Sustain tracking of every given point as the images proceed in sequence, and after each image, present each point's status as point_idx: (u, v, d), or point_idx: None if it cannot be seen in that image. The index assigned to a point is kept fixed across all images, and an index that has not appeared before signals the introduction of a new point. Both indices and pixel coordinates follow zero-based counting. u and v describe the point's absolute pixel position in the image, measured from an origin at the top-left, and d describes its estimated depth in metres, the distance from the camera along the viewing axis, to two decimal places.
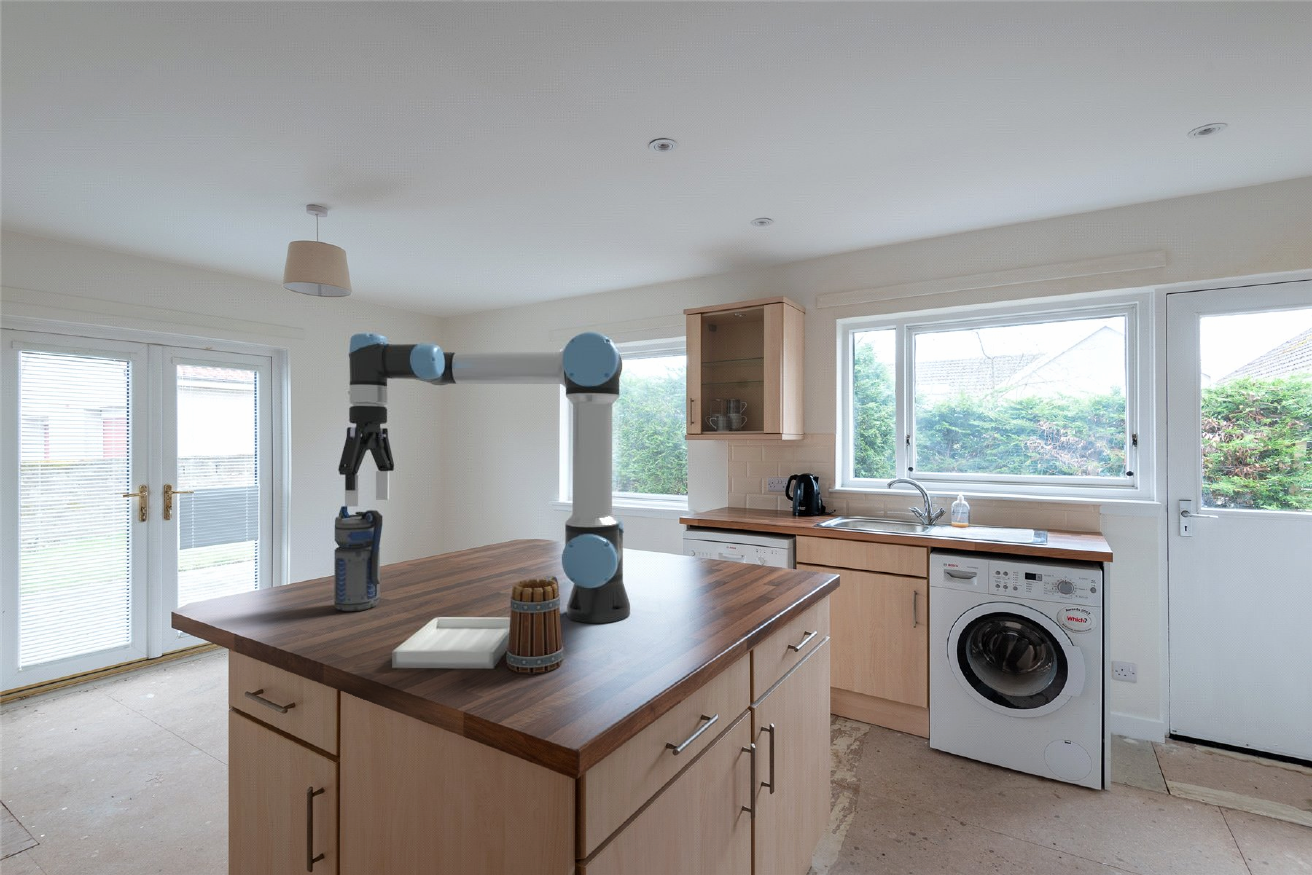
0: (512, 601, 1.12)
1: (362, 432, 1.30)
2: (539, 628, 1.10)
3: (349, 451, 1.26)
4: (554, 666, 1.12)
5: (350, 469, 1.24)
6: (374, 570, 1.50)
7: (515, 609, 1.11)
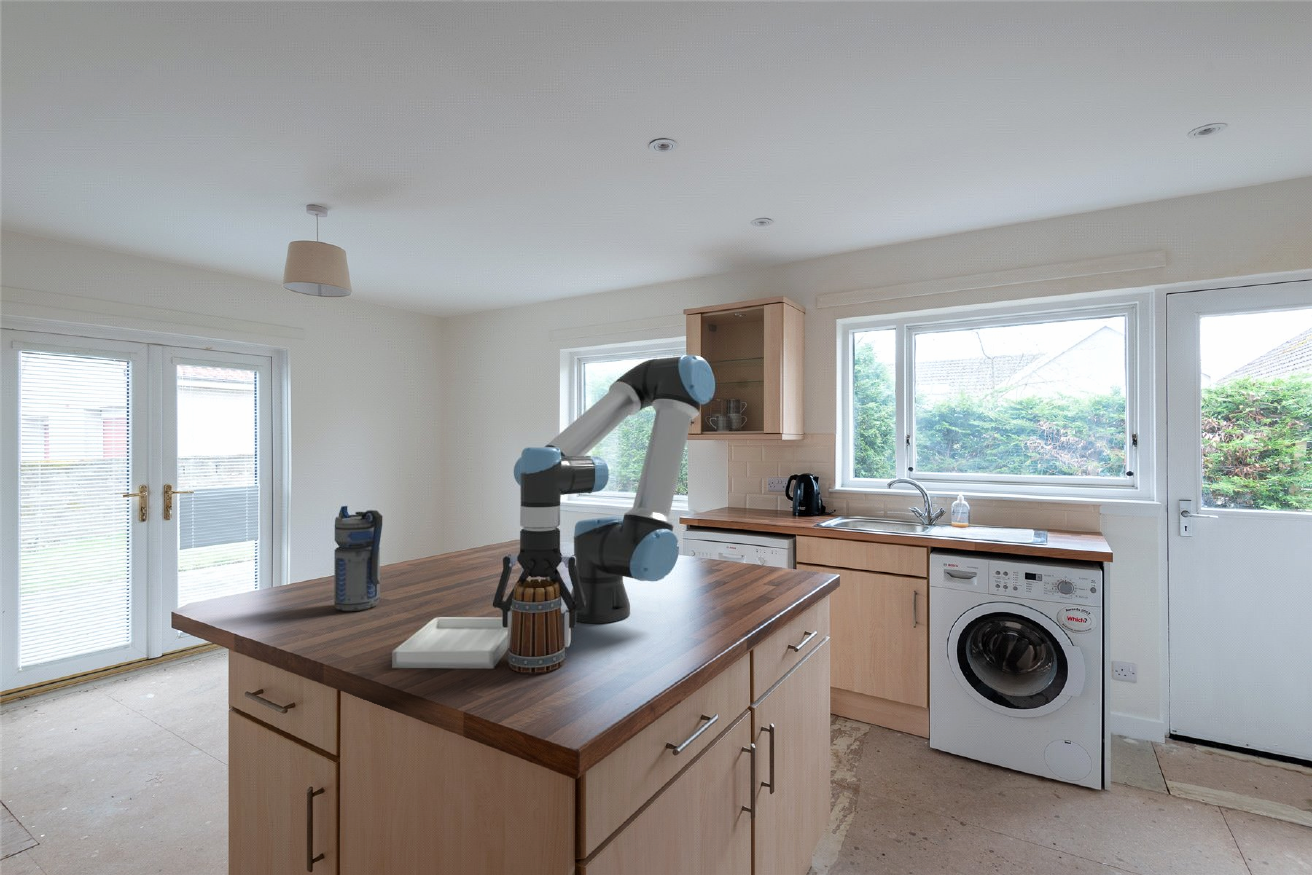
0: (514, 601, 1.12)
1: (517, 560, 1.16)
2: (540, 628, 1.10)
3: None
4: (556, 666, 1.12)
5: (493, 605, 1.16)
6: (374, 570, 1.50)
7: (517, 609, 1.11)
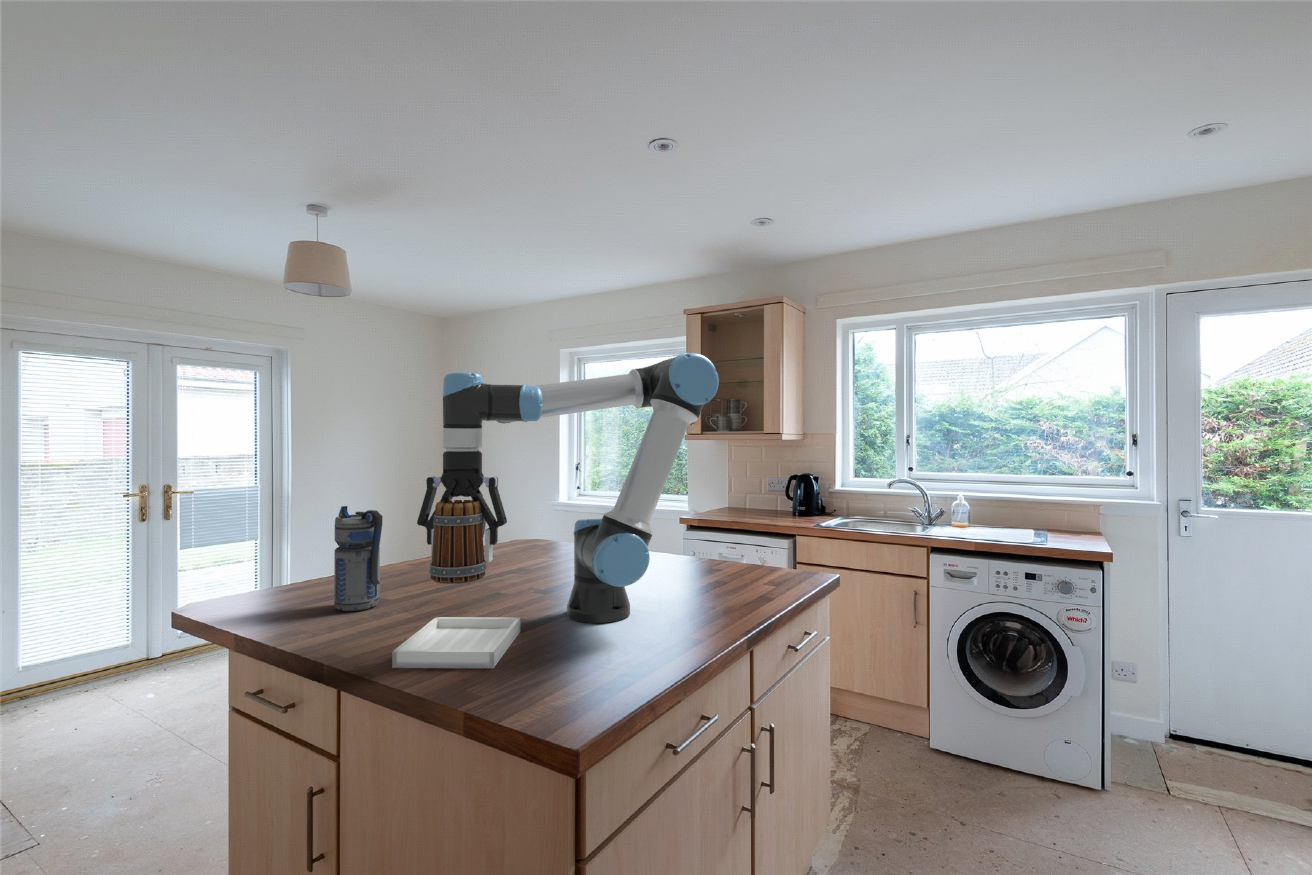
0: (434, 517, 1.18)
1: (440, 480, 1.23)
2: (459, 541, 1.16)
3: None
4: (474, 578, 1.18)
5: (418, 523, 1.22)
6: (374, 570, 1.50)
7: (437, 523, 1.17)
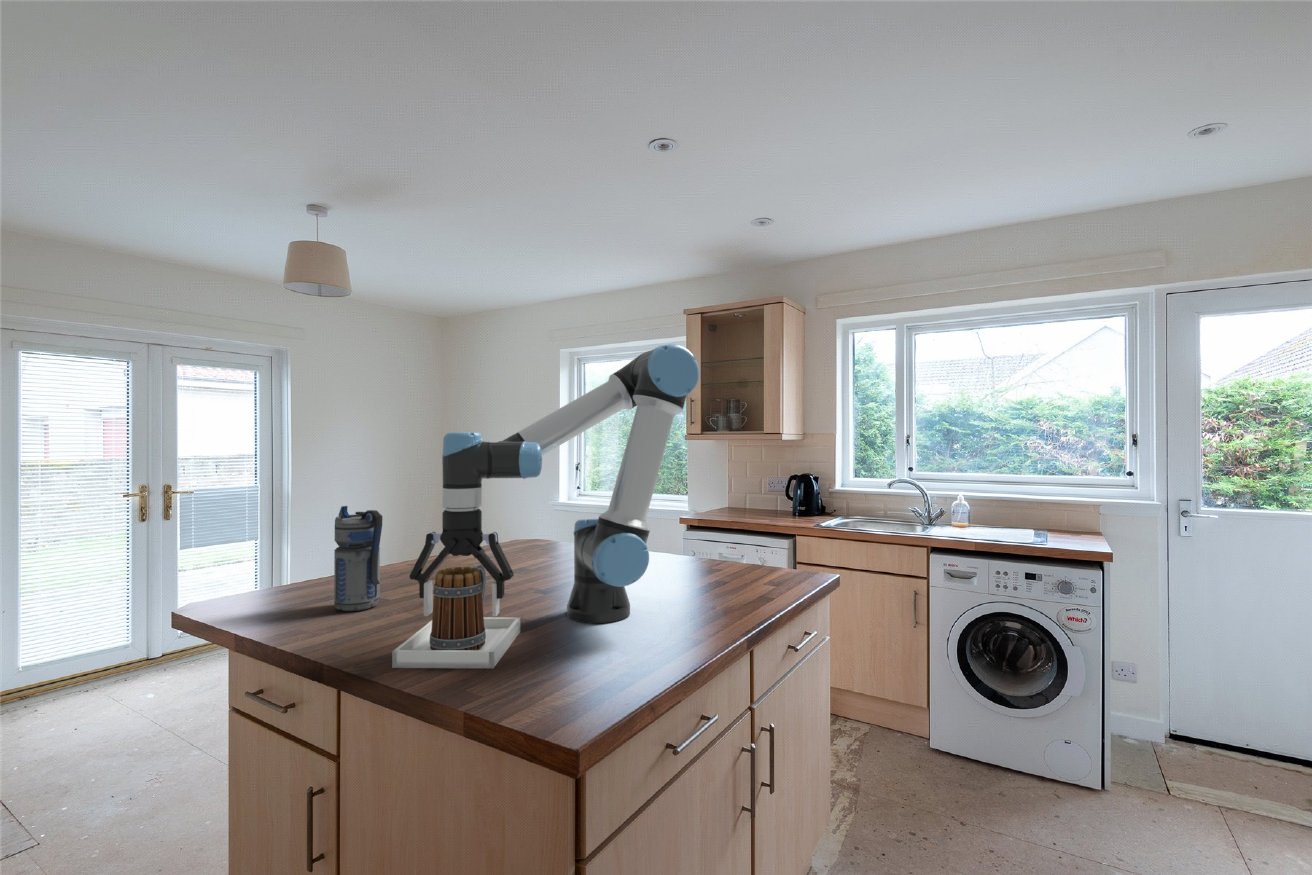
0: (434, 587, 1.18)
1: (440, 538, 1.23)
2: (459, 613, 1.16)
3: None
4: (474, 648, 1.18)
5: (410, 576, 1.22)
6: (374, 570, 1.50)
7: (437, 594, 1.17)
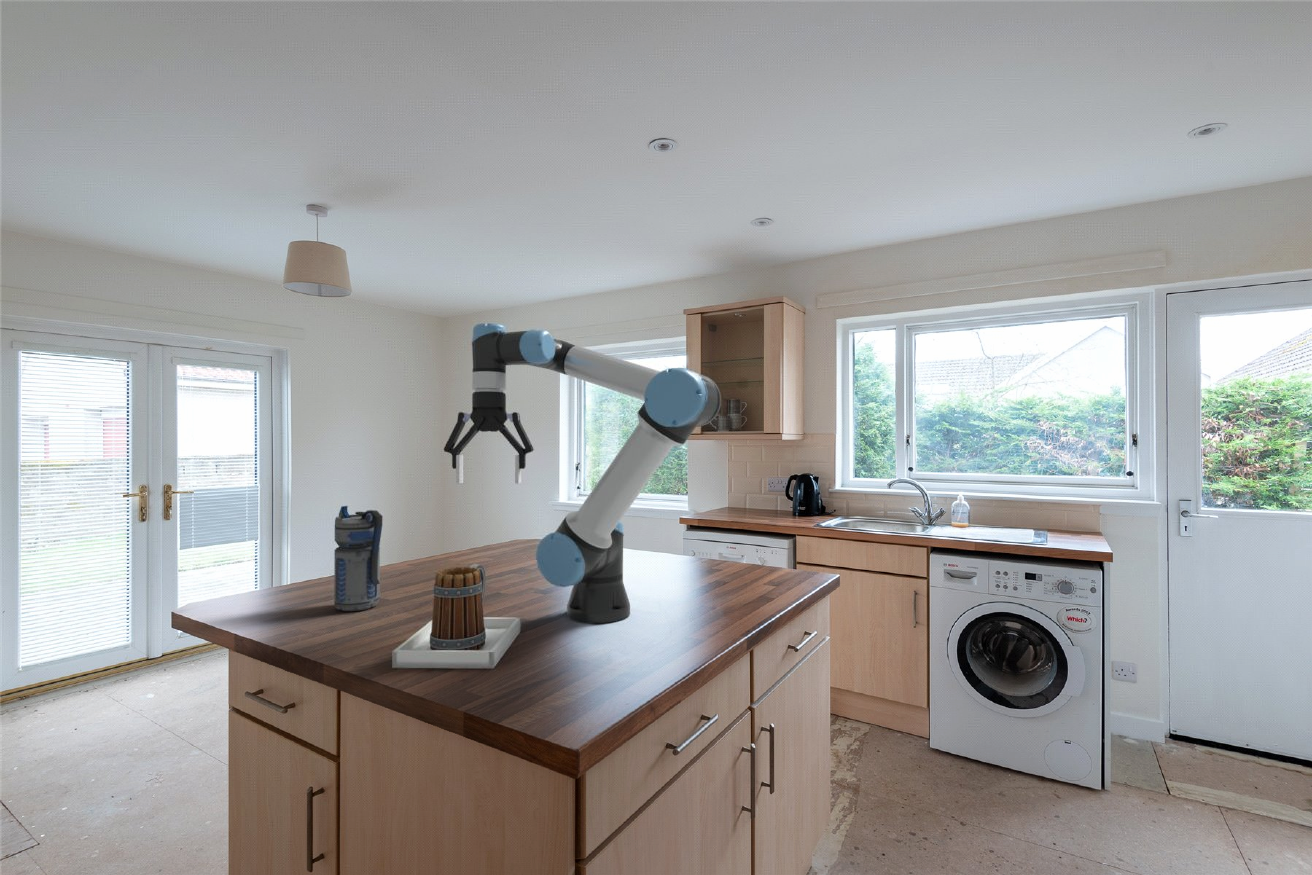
0: (434, 587, 1.18)
1: (470, 416, 1.42)
2: (459, 613, 1.16)
3: None
4: (474, 648, 1.18)
5: (444, 449, 1.41)
6: (374, 570, 1.50)
7: (437, 594, 1.17)
